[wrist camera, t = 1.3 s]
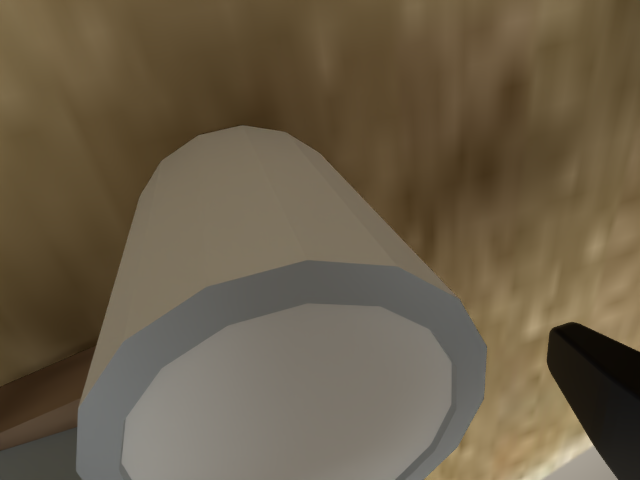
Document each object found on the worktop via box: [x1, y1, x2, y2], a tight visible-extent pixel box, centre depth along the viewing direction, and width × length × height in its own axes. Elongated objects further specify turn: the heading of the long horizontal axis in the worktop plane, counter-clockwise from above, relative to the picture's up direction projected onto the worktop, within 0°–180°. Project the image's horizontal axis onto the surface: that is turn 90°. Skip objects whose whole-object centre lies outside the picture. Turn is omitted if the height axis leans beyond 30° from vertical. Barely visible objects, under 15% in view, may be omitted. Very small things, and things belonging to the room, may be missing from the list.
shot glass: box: [76, 125, 487, 480], centre depth 11 cm, size 7×7×7 cm
